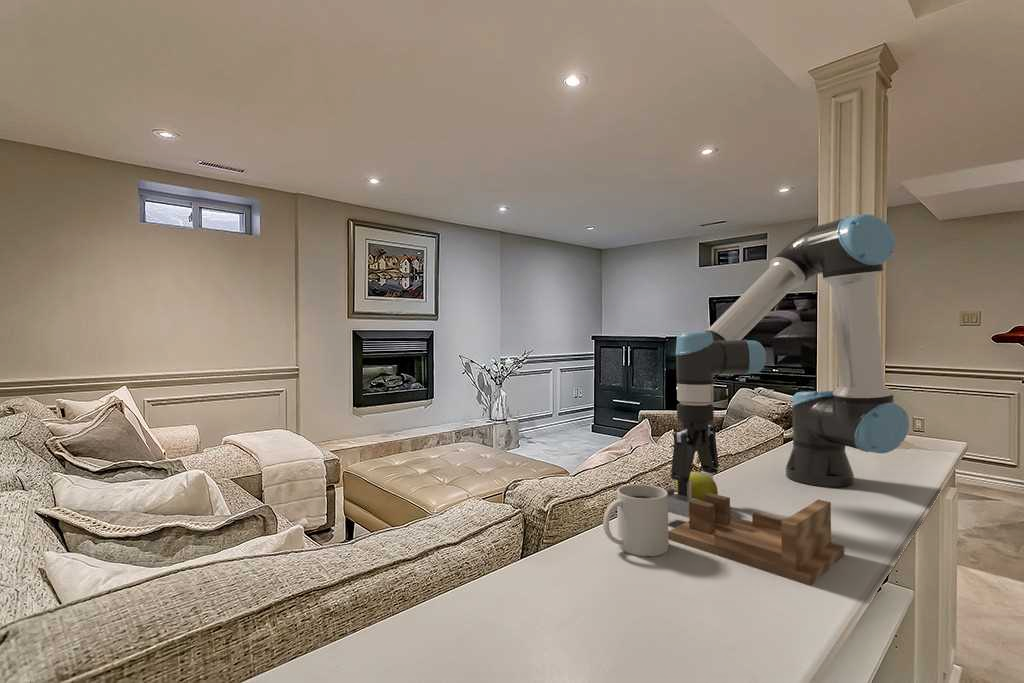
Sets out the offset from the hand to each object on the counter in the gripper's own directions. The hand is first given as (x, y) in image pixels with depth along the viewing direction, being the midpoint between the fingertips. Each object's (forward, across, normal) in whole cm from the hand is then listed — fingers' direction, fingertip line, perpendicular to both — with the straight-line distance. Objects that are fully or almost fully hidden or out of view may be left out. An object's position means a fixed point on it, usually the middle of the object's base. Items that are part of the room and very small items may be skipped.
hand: (696, 506), depth 111 cm
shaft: (-1, +11, +4) cm, 12 cm away
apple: (+1, 0, 0) cm, 1 cm away
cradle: (+1, +11, +17) cm, 20 cm away
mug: (+1, +26, +3) cm, 26 cm away
